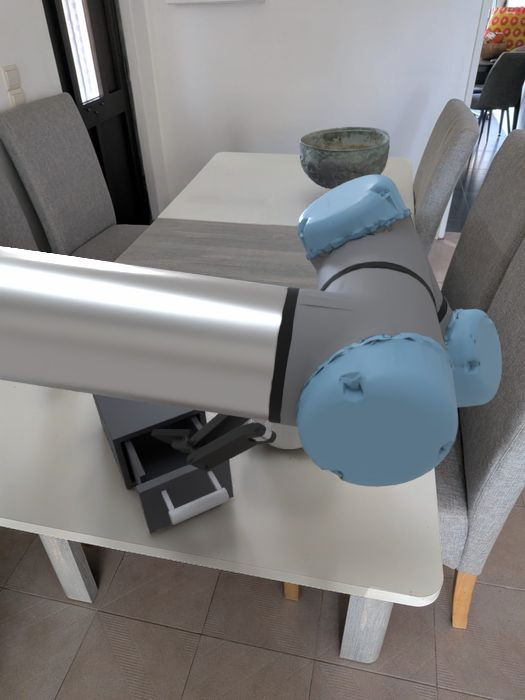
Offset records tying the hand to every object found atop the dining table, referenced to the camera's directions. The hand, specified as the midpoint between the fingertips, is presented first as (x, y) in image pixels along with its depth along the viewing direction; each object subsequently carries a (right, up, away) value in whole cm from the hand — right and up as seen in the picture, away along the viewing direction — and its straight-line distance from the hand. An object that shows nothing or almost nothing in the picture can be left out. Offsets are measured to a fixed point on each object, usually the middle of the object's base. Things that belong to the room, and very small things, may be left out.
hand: (178, 383), depth 63 cm
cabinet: (-6, -10, +17) cm, 20 cm away
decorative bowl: (+35, +49, +96) cm, 113 cm away
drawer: (-1, -15, +7) cm, 17 cm away
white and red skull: (+15, -9, +17) cm, 24 cm away
